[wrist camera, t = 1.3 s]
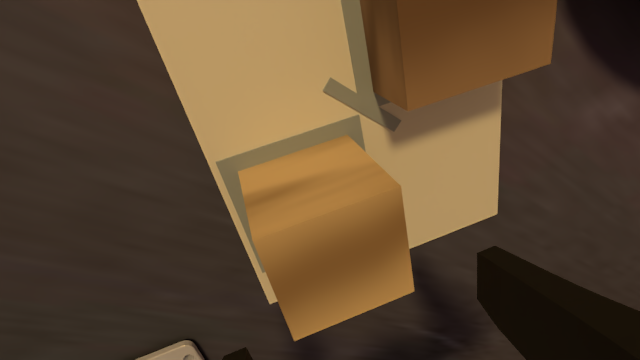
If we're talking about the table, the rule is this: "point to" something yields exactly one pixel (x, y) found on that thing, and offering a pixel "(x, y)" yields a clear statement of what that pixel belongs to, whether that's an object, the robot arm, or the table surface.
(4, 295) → the table surface
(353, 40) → the board
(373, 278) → the oak block
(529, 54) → the walnut block
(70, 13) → the table surface
